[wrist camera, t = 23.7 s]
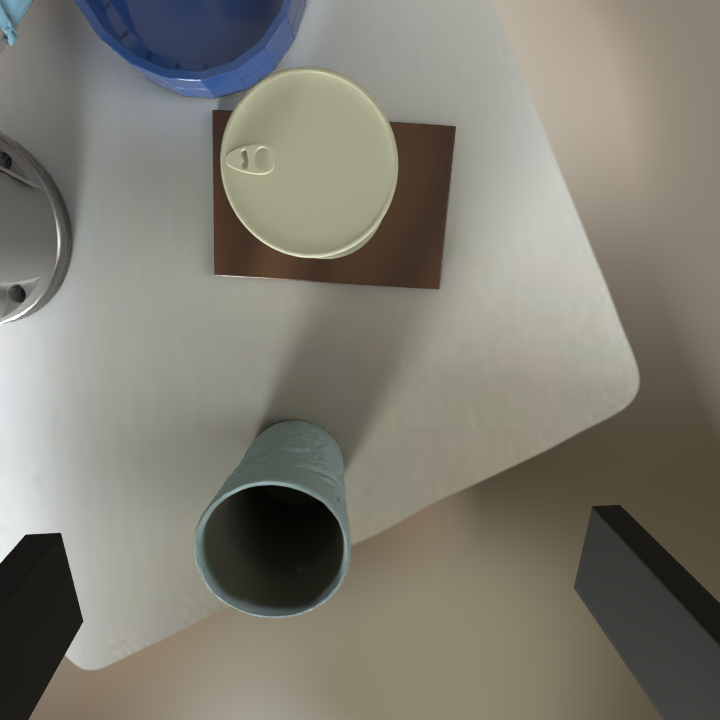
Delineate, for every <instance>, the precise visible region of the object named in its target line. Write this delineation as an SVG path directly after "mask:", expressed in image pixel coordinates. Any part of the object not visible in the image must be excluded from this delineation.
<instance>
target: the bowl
mask: <svg viewBox="0 0 720 720" xmlns="http://www.w3.org/2000/svg"><path fill="white" fill-rule="evenodd" d="M75 2H76V4H77V5H78V7H79V8H80V10H81V11H82V13H83V14H84V16H85V17H86V19H87V20H88V22H89V23H90V25H91V26H92V28H93V29H94V31H95V32H96V33H97V35H98V36H99V37H100V39H102V40H103V41H104V42H105V43H106V44H107V45H109V46H110V47H111V48H112V49H113V50H115V51H116V52H117V53H118V54H119V55H120V56H122V57H123V58H124V59H125V60H126V61H127V62H129V63H130V64H131V65H132V66H133V67H135V68H136V69H137V70H138V71H139V72H140V73H142V74H143V75H144V76H145V77H146V78H148V79H149V80H150V81H151V82H153V83H155V84H157V85H160V86H162V87H164V88H167V89H169V90H171V91H174V92H176V93H178V94H181V95H184V96H194V97H208V98H216V97H217V98H219V97H222V96H226V95H229V94H233V93H236V92H240V91H243V90H246V89H248V88H250V87H251V86H252V85H254V84H255V83H257V82H258V81H259V80H261V79H262V78H263V77H265V76H266V75H267V74H269V73H270V72H271V71H273V70H274V69H275V68H276V66H277V65H278V63H279V62H280V61H281V59H282V58H283V56H284V55H285V53H286V52H287V51H288V49H289V48H290V46H291V45H292V43H293V42H294V40H295V38H296V35H297V32H298V29H299V25H300V22H301V19H302V16H303V13H304V10H305V7H306V0H75Z"/></svg>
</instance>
